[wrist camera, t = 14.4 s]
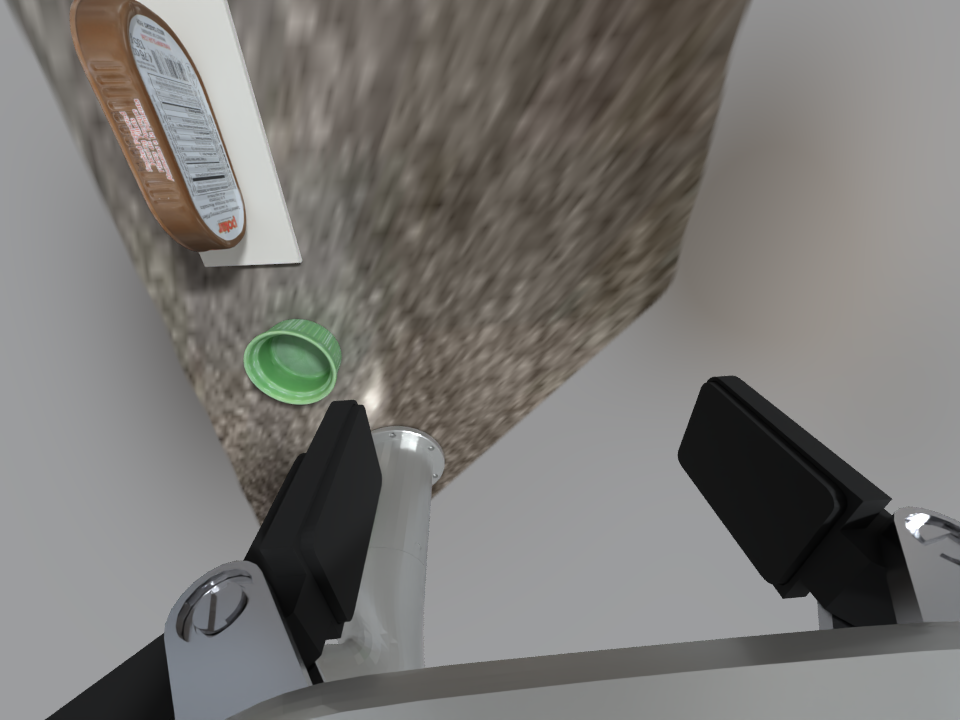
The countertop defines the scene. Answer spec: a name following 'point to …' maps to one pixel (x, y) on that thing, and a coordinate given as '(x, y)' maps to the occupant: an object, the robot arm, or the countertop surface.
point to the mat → (235, 130)
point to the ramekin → (294, 362)
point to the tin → (161, 121)
